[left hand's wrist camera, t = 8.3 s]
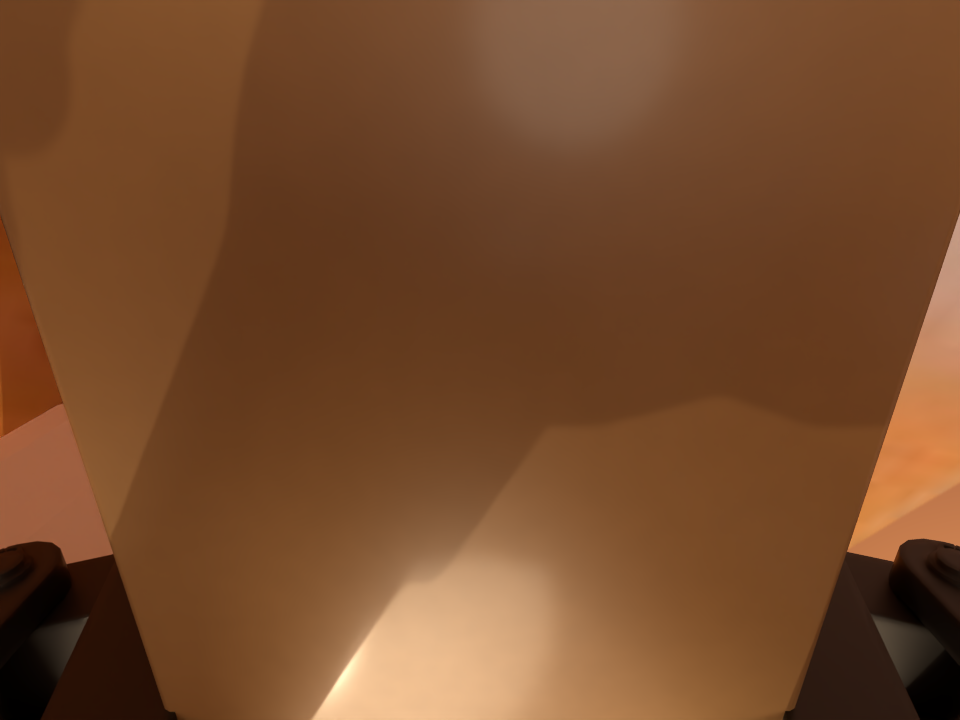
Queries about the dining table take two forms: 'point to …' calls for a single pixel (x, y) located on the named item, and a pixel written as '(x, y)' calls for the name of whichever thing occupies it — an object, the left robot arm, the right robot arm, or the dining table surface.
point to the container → (48, 490)
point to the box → (479, 332)
